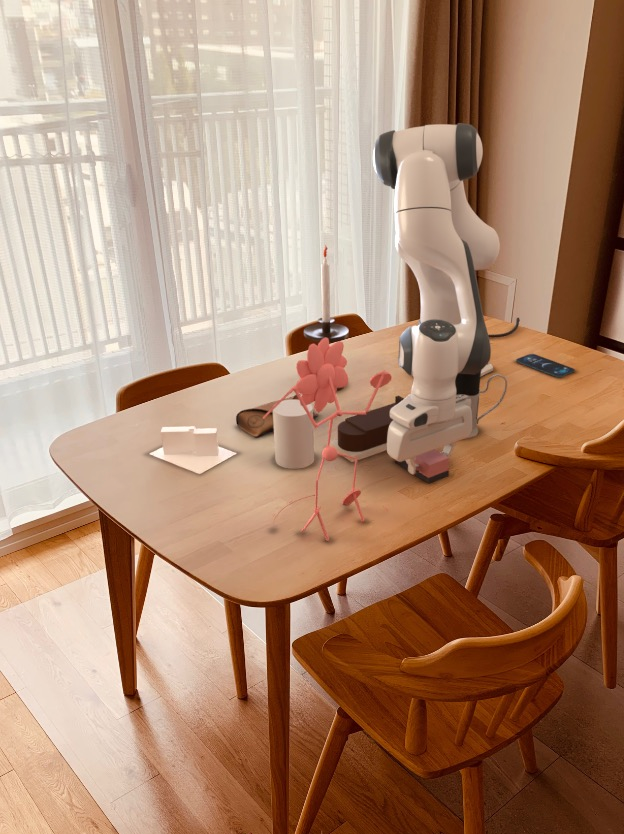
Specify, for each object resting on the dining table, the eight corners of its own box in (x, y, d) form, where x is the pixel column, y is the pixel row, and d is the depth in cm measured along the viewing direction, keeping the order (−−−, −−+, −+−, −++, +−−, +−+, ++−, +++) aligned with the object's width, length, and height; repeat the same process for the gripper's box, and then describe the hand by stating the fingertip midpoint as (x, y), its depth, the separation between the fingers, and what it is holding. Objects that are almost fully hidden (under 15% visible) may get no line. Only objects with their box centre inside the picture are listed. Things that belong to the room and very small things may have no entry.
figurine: (397, 506, 154) (404, 332, 136) (296, 562, 138) (288, 372, 120) (342, 478, 163) (341, 310, 144) (241, 527, 147) (225, 345, 128)
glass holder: (438, 421, 187) (442, 360, 178) (499, 422, 187) (506, 361, 179) (441, 438, 179) (445, 376, 171) (504, 439, 179) (511, 377, 171)
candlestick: (352, 392, 199) (353, 249, 181) (309, 395, 197) (305, 251, 178) (343, 375, 208) (343, 237, 190) (302, 378, 206) (297, 239, 187)
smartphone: (559, 376, 209) (514, 359, 218) (558, 378, 210) (514, 361, 219) (576, 369, 214) (532, 352, 223) (576, 371, 214) (531, 354, 223)
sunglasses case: (256, 437, 176) (246, 408, 176) (242, 442, 182) (232, 414, 181) (321, 415, 187) (311, 387, 186) (306, 420, 192) (296, 393, 192)
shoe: (399, 423, 185) (400, 393, 181) (423, 437, 180) (425, 406, 176) (329, 447, 174) (328, 416, 170) (352, 462, 169) (352, 430, 165)
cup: (297, 446, 174) (295, 396, 168) (322, 460, 169) (320, 408, 163) (267, 458, 169) (264, 407, 163) (292, 472, 165) (289, 420, 158)
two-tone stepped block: (394, 462, 169) (395, 444, 167) (414, 455, 172) (414, 437, 170) (428, 483, 162) (430, 465, 160) (448, 475, 165) (449, 457, 163)
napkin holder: (148, 454, 170) (144, 430, 167) (186, 434, 178) (183, 411, 175) (200, 474, 163) (197, 449, 160) (237, 452, 171) (235, 428, 168)
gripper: (460, 387, 165) (455, 446, 172) (382, 412, 154) (381, 474, 161) (482, 397, 161) (476, 458, 168) (403, 423, 150) (401, 487, 157)
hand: (429, 466), depth 165 cm, fingers open, 7 cm apart
